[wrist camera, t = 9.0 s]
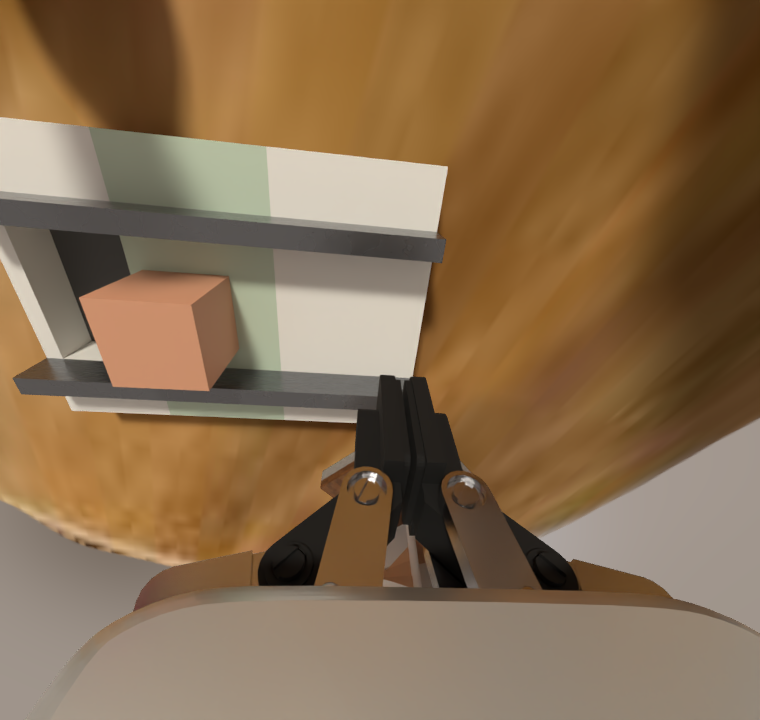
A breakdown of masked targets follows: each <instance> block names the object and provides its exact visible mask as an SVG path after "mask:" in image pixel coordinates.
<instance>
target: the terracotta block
mask: <svg viewBox="0 0 760 720" xmlns="http://www.w3.org/2000/svg"><path fill="white" fill-rule="evenodd" d="M79 300H80V302H81V305H82V307H83V310H84V313H85V315H86V318H87V320H88V323H89V326H90V328H91V331H92V333H93V336H94V339H95V341H96V344H97V346H98V349H99V352H100V354H101V357H102V359H103V362H104V365H105V367H106V370H107V373H108V375H109V378H110V380H111V383H112V386H113V387H129V388H151V389H174V390H196V391H210V389H211V388H212V386H213V385H214V384H215V382H216V381H217V379H218V378H219V377H220V375H221V374H222V372H223V371H224V370H225V368H226V367H227V365H228V364H229V363H230V361H231V360H232V358H233V357H234V356H235V354H236V353H237V351H238V350H239V343H238V336H237V329H236V322H235V315H234V308H233V301H232V294H231V287H230V280H229V276H221V275H207V274H193V273H179V272H165V271H151V270H141V271H139V272H136V273H134V274H132V275H129V276H127V277H125V278H123V279H120V280H118V281H116V282H113V283H111V284H109V285H107V286H104V287H102V288H100V289H97V290H95V291H93V292H90V293H88V294H86V295H84V296H81V297H79Z"/></svg>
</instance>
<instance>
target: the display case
mask: <svg viewBox="0 0 760 720" xmlns="http://www.w3.org/2000/svg"><path fill="white" fill-rule="evenodd" d="M354 458H355V452H353V453H351V454H350V455H348V456H347V457H345V458H343V459H342V460H340V461H339V462H337V463H335V464H334V465H332V466H330V467H329V468H327V469H326V470H324V471H323V473H322V480H321V489H322V490H323V491H325V492H326V493H327V494H329V495H330V496H332V497H333V498H334V497H335V496H337V495H338V494H339V492H340V488H341V484H342V482H343V480H344V477H345V476H346V475H347V474H348V473H349V472H350V471H352V470H354ZM460 463H461V466H462V469H463V471H466V472H469V473H471V472H470V471H469V470H468V469H467V468H466V467H465V466H464V464H463V463H462V462H461V461H460ZM383 587H424V588H433V587H432V583H431V579H430V576H429V572H428V569H427V565H426V561H425V558H424V553H423V545H421V544H420V543H419V542H418V541H417V540H416V539H415V536H409V529H408V525H403V523H402V515H401V513H400V518H399V523H398V525H397V529H396V534H395V538H394V539H393V540H392V541H391V542H390V544H389V545H388V546H387V550H386V559H385V568H384V578H383Z"/></svg>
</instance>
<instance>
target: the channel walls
mask: <svg viewBox="0 0 760 720" xmlns="http://www.w3.org/2000/svg"><path fill="white" fill-rule="evenodd" d="M0 225H4V226H16V227H28V228H39V229H51V230H63V231H74V232H86V233H98V234H109V235H121V236H133V237H144V238H156V239H168V240H179V241H191V242H203V243H214V244H226V245H238V246H249V247H261V248H273V249H284V250H296V251H308V252H319V253H331V254H343V255H354V256H366V257H378V258H389V259H401V260H413V261H424V262H436V263H442V260H443V254H444V249H445V243H446V239H445V238H444V237H442V236H441V235H440V234H439V233H438V232H432V231H421V230H410V229H399V228H389V227H378V226H367V225H357V224H346V223H335V222H325V221H314V220H303V219H293V218H282V217H271V216H260V215H250V214H239V213H228V212H218V211H207V210H196V209H186V208H175V207H164V206H154V205H143V204H132V203H121V202H111V201H100V200H89V199H79V198H68V197H57V196H47V195H36V194H25V193H14V192H4V191H0ZM379 379H380V376H362V375H344V374H326V373H308V372H290V371H272V370H255V369H237V368H225V370H224V371H223V372H222V374H221V375H220V377H219V378H218V379H217V381H216V382H215V384H214V385H213V386H212V388H211V389H210V391H196V390H174V389H151V388H129V387H113V386H112V383H111V380H110V378H109V375H108V373H107V370H106V367H105V365H104V362H103V361H93V360H75V359H57V358H46V359H44V360H43V361H41V362H39V363H38V364H36V365H34V366H32V367H31V368H29V369H27V370H26V371H24V372H22V373H20V374H19V375H17V376H15V377H14V378H13V380H14V382H15V383H16V385H17V387H18V389H19V391H20V393H21V394H29V395H50V396H72V397H93V398H114V399H135V400H157V401H178V402H199V403H220V404H241V405H263V406H284V407H305V408H326V409H348V410H358V409H371V410H376V405H377V396H378V387H379ZM395 379H396V380H401V387H402V391H403V385H404V380H409V379H410V378H398V377H395Z"/></svg>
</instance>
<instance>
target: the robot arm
mask: <svg viewBox="0 0 760 720" xmlns="http://www.w3.org/2000/svg"><path fill="white" fill-rule="evenodd" d="M400 513H401V515H402V523H403V525H408V529H409V536H415V539H416V540H417V541H418V542H419V543H420V544H421V545H423V553H424V558H425V561H426V565H427V569H428V572H429V576H430V579H431V583H432V587H433V588H424V587H383V578H384V568H385V559H386V550H387V546H388V545H389V544H390V542H391V541H392V540H393V539H394V538H395V534H396V529H397V525H398V523H399V518H400ZM25 720H760V633H758V632H756V631H755V630H753V629H751V628H750V627H748V626H746V625H744V624H742V623H740V622H738V621H736V620H734V619H732V618H729V617H727V616H724V615H722V614H720V613H717V612H715V611H712V610H710V609H707V608H704V607H701V606H698V605H695V604H692V603H689V602H685V601H681V600H677V599H673V598H672V597H671V596H670V595H669V594H668V593H667V592H666V591H665V590H664V589H663V588H662V587H660V586H659V585H657V584H656V583H655V582H653V581H651V580H648V579H646V578H644V577H640V576H636V575H633V574H629V573H625V572H621V571H618V570H614V569H610V568H606V567H602V566H598V565H594V564H591V563H587V562H583V561H579V560H575V559H573V560H572V561H571V562H568V561H566V560H565V559H564V558H563V557H562V556H561V555H560V554H559V553H557V552H556V551H555V550H553V549H552V548H551V547H549V546H548V545H546V544H545V543H544V542H543V541H541V540H540V539H538V538H537V537H536V536H534V535H533V534H532V533H530V532H529V531H527V530H526V529H525V528H523V527H522V526H521V525H519V524H518V523H516V522H515V521H514V520H512V519H511V518H510V517H508V516H507V515H506V514H504V513H503V512H501V510H500V508H499V506H498V504H497V502H496V500H495V498H494V496H493V494H492V493H491V491H490V489H489V487H488V486H487V485H486V483H485V482H484V481H483V480H482V479H481V478H479V477H478V476H476V475H474V474H472V473H469V472H466V471H463V469H462V466H461V463H460V459H459V456H458V452H457V449H456V446H455V442H454V439H453V435H452V432H451V429H450V425H449V422H448V418H447V416H446V414H441V413H434V409H433V405H432V401H431V397H430V393H429V389H428V385H427V381H426V378H425V377H410V379H409V380H404V385H403V391H402V387H401V380H396V379H395V376H394V375H380V379H379V387H378V396H377V405H376V410H371V409H358V412H357V426H356V441H355V458H354V470H352V471H350V472H349V473H348V474H347V475H346V476H345V477H344V480H343V482H342V484H341V488H340V492H339V494H338V495H337V496H335V497H334V498H333V499H332V500H330V501H329V502H328V503H326V504H325V505H324V506H322V507H321V508H320V509H319V510H317V511H316V512H315V513H313V514H312V515H311V516H309V517H308V518H307V519H306V520H304V521H303V522H302V523H300V524H299V525H298V526H296V527H295V528H294V529H293V530H291V531H290V532H289V533H287V534H286V535H285V536H283V537H282V538H281V539H280V540H278V541H277V542H276V543H274V544H273V545H272V546H271V547H270V548H269V549H268V550H267V551H265V552H260V553H255V554H253V553H252V551H247V552H242V553H237V554H232V555H228V556H223V557H218V558H213V559H208V560H203V561H199V562H194V563H189V564H184V565H179V566H174V567H171V568H169V569H166V570H163V571H162V572H160V573H159V574H157V575H156V576H155V577H153V578H152V579H151V580H150V581H149V582H148V583H147V584H146V586H145V587H144V588H143V589H142V590H141V592H140V595H139V597H138V599H137V601H136V604H135V607H134V610H133V612H132V613H130V614H128V615H126V616H124V617H122V618H120V619H118V620H117V621H115V622H113V623H111V624H110V625H109V626H107V627H105V628H104V629H102V630H101V631H99V632H98V633H97V634H95V635H94V636H93V637H92V638H90V639H89V640H88V641H87V642H86V643H85V644H84V645H83V646H82V647H81V648H80V649H79V650H78V651H77V652H76V653H75V654H74V655H73V656H72V657H71V659H70V660H69V661H68V662H67V663H66V665H65V666H64V667H63V668H62V669H61V671H60V672H59V673H58V674H57V676H56V677H55V678H54V680H53V681H52V682H51V684H50V685H49V687H48V688H47V689H46V690H45V692H44V693H43V694H42V696H41V697H40V699H39V700H38V702H37V703H36V705H35V706H34V707H33V709H32V710H31V712H30V713H29V715H28V716H27V718H26V719H25Z"/></svg>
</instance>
